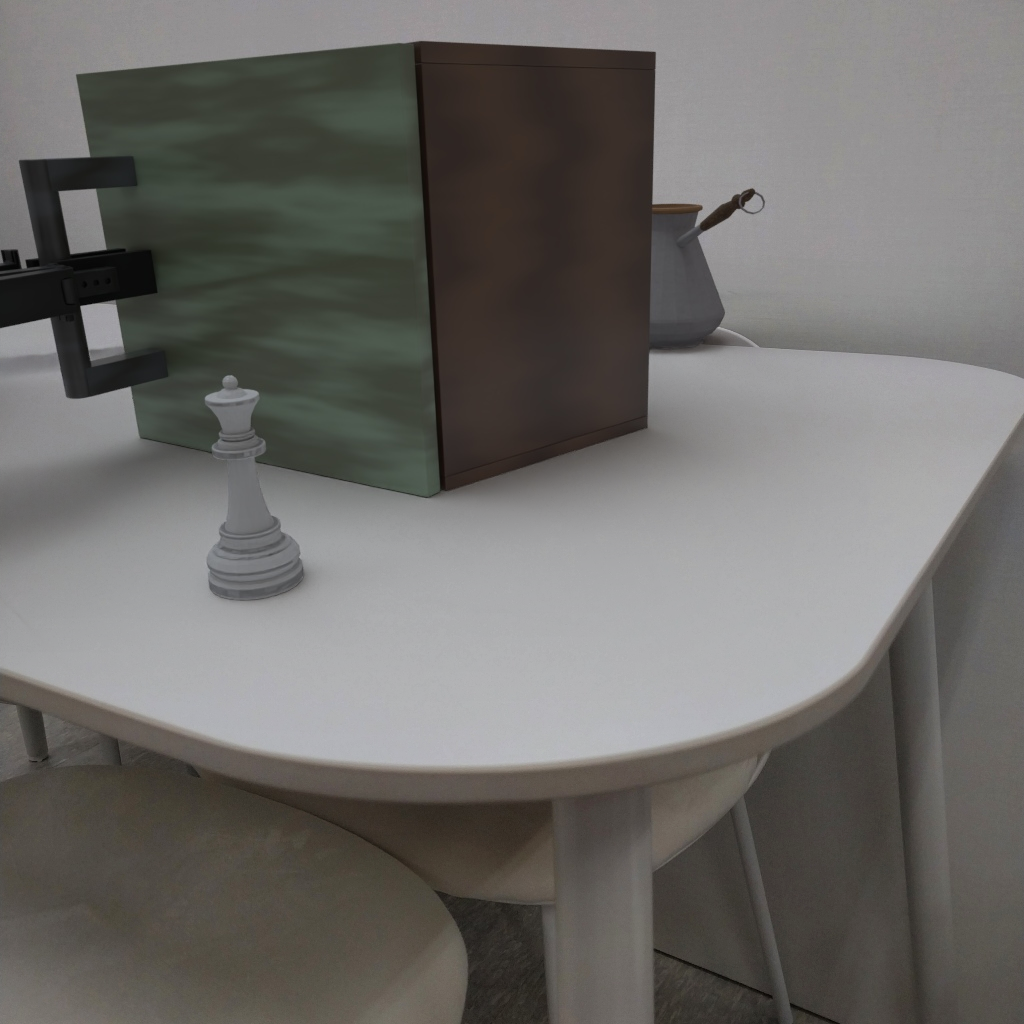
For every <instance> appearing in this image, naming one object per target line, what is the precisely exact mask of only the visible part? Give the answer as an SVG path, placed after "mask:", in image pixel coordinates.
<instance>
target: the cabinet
mask: <svg viewBox="0 0 1024 1024" xmlns="http://www.w3.org/2000/svg"><path fill="white" fill-rule="evenodd" d="M405 43H406V44H414V57H415V74H416V91H417V107H418V124H419V141H420V158H421V175H422V191H423V208H424V225H425V242H426V259H427V276H428V292H429V309H430V326H431V343H432V360H433V376H434V393H435V410H436V427H437V444H438V460H439V477H440V491H443V492H446V493H447V492H450V491H453V490H456V489H459V488H463V487H466V486H468V485H472V484H475V483H478V482H481V481H485V480H487V479H490V478H494V477H497V476H500V475H504V474H507V473H510V472H513V471H517V470H520V469H522V468H525V467H528V466H531V465H535V464H538V463H541V462H545V461H548V460H550V459H554V458H557V457H560V456H563V455H567V454H569V453H573V452H576V451H579V450H583V449H585V448H589V447H593V446H595V445H598V444H601V443H605V442H608V441H611V440H615V439H617V438H620V437H622V436H623V437H624V436H627V435H629V434H633V433H636V432H640V431H643V430H646V429H648V423H649V422H648V421H649V420H648V419H649V416H648V414H649V381H650V379H649V378H650V377H649V376H650V348H649V337H650V292H651V248H652V204H653V203H654V202H653V198H654V197H653V196H654V195H653V194H654V156H655V155H654V153H655V151H654V150H655V114H656V113H655V109H656V107H655V106H656V68H657V63H656V62H657V52H656V51H648V50H626V49H607V48H604V49H602V48H587V47H586V48H584V47H583V48H582V47H564V46H563V47H562V46H543V45H542V46H541V45H540V46H539V45H522V44H521V45H518V44H517V45H516V44H498V43H497V44H495V43H479V42H477V43H476V42H454V41H435V40H433V41H432V40H416V41H409V42H405Z"/></svg>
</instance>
